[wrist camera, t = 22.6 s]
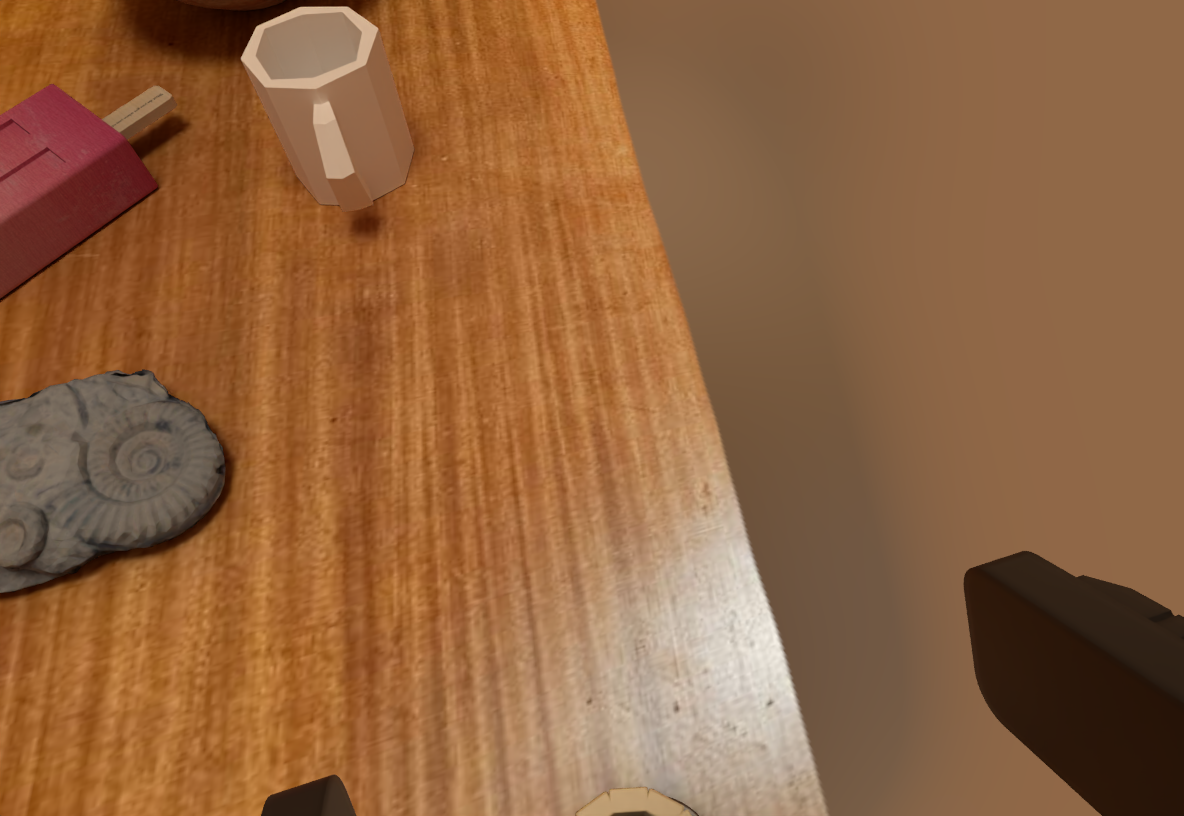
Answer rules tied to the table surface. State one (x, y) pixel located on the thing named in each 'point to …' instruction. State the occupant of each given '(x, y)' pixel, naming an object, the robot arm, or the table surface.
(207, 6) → the bowl
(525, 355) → the table surface
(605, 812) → the faceted pencil cup
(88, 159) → the popsicle
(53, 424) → the fossil
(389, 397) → the table surface
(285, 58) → the mug
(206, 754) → the table surface
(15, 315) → the table surface
